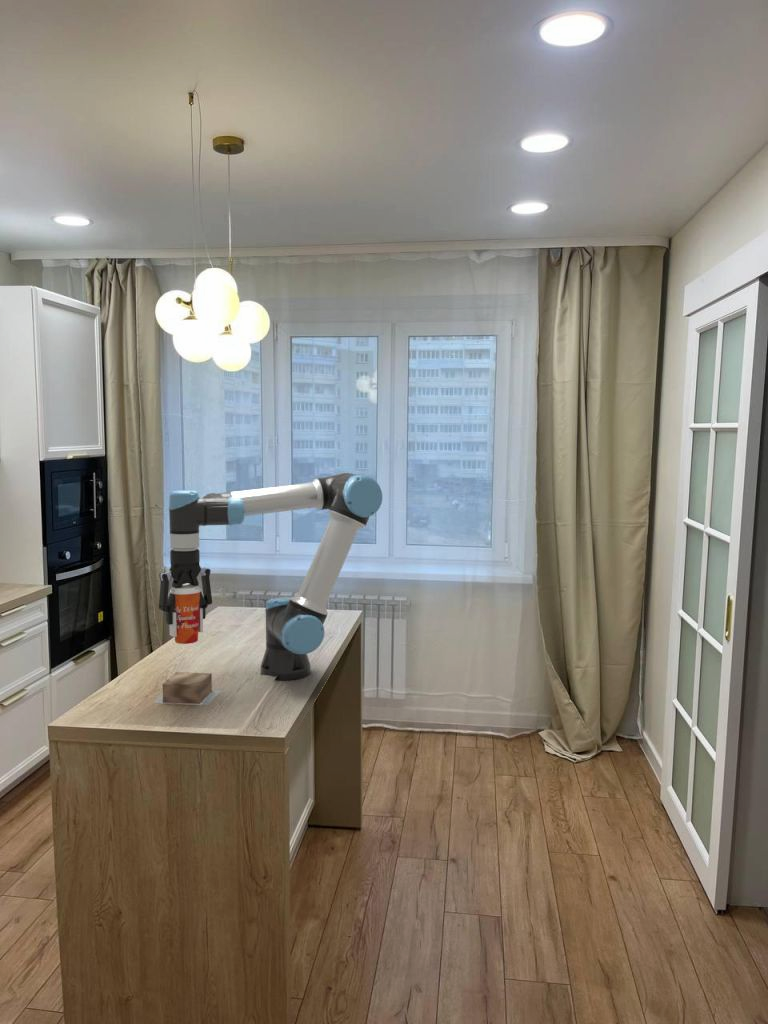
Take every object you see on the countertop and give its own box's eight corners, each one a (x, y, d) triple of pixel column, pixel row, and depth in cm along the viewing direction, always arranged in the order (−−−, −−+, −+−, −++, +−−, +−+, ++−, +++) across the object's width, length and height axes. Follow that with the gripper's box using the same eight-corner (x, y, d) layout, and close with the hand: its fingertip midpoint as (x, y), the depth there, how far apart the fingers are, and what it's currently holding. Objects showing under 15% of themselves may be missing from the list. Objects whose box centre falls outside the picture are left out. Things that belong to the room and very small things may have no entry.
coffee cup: (170, 646, 190) (169, 589, 189) (170, 637, 198) (169, 583, 197) (203, 643, 193) (202, 588, 191) (202, 635, 201) (201, 582, 199)
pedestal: (211, 690, 202) (211, 673, 201) (199, 703, 192) (199, 685, 191) (176, 689, 202) (176, 671, 202) (162, 702, 192) (162, 683, 192)
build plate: (221, 694, 202) (221, 690, 202) (208, 709, 191) (208, 705, 191) (168, 692, 203) (168, 688, 203) (153, 707, 192) (152, 703, 192)
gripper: (212, 543, 202) (213, 624, 204) (142, 550, 190) (145, 636, 192) (225, 547, 197) (226, 630, 199) (154, 553, 184) (156, 642, 186)
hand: (186, 633), depth 195 cm, fingers closed on coffee cup, 7 cm apart
